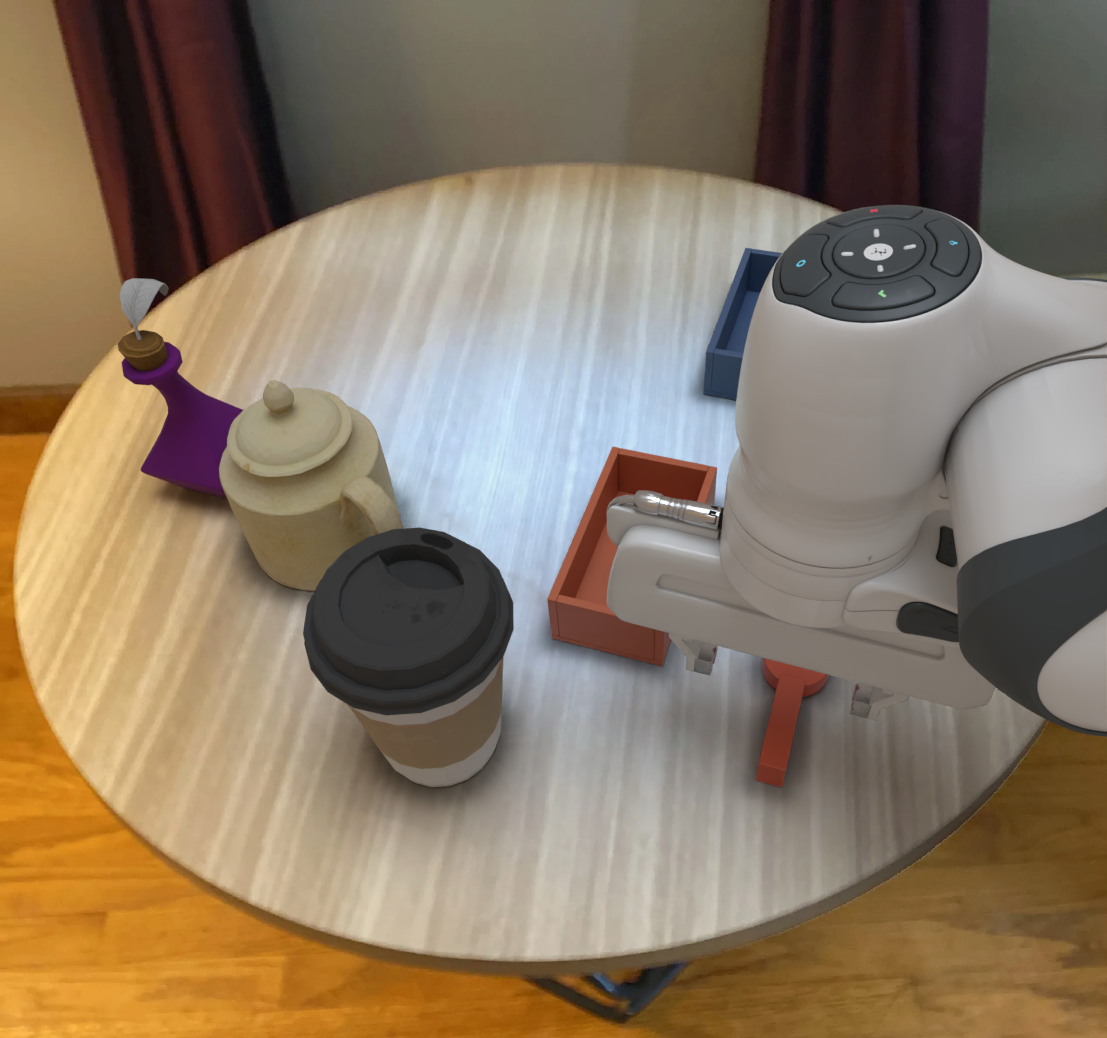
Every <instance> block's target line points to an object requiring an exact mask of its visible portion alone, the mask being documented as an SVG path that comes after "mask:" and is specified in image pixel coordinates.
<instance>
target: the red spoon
mask: <svg viewBox="0 0 1107 1038" xmlns="http://www.w3.org/2000/svg"><path fill="white" fill-rule="evenodd" d="M761 669H762V674H763V676H764V679H765V680H766V682H767V683H768V684H769V685H770V686H771V687H772V688H773V689H774V690H775V692H774V697H773V701H772V705H771V709H770V714H769V717H768V721H767V726H766V730H765V734H764V738H763V743H762V747H761V750H760V754H759V755H760V756H759V760H758V763H757V769H756V776H755V781H757V782H761V783H764V784H768V785H770V786H774V787H778V788H783V785H784V783H785V782H784V781H785V777H786V772H787V768H788V764H789V759H790V754H791V750H792V745H793V741H794V736H795V731H796V727H797V723H798V718H799V713H800V710H801V705H802V700H803V698H804V697H809V696H812V695H815V694H816V693H818V692H819V691H821V690H822V689H823V688H824V686H825V685H826V683H827V681H828V678H829V676H830V675H827V674H823V673H820V672H816V671H812V670H808V669H804V668H800V667H797V666H793V665H789V664H785V663H781V662H778V661H774V660H770V659H766V658H762V663H761Z"/></svg>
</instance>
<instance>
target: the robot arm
mask: <svg viewBox="0 0 1107 1038" xmlns="http://www.w3.org/2000/svg"><path fill="white" fill-rule="evenodd" d="M781 253H782V254H781V256H780V257H779V258H778V260H777V261H776V263H775V264H774V266H773V267H772V269H771V271H770V273H769V275H768V277H767V279H766V281H765V283H764V285H763V287H762V290H761V292H760V294H759V297H758V300H757V303H756V306H755V309H754V312H753V316H752V319H751V323H750V327H749V330H748V335H747V339H746V343H745V348H744V353H743V359H742V364H741V371H740V377H739V384H738V392H737V399H736V400H735V408H734V426H735V427H734V428H735V432H736V438H737V440H738V441H737V442H738V444H739V446H738V448H737V449H736V451H735V453H734V454H733V456H732V459H731V462H730V464H729V468H728V473H727V477H726V484H725V493H724V502H723V506H720V505H719V506H718V505H715V504H714V505H710V504H706V503H702V502H697V501H691V500H689V501H688V500H682V499H675V498H671V497H666V496H663V494H660V493H657V492H653V491H645V490H639V491H637V492H636V494H635V495H624V496H620V497H617V498H614V499H613V500H612V501H611V502H610V504H609V505H608V508H607V533H608V536H609V537H610V539H611V541H612V542H613V543H614V544H615V545H616V546H617V547H618V549H617V552H616V555H615V557H614V560H613V564H612V567H611V571H610V576H609V581H608V588H607V606H608V607H609V608H610V610H611V611H612V612H613V613H614V614H615V615H616V616H617V617H618V618H619V619H621V620H623V621H625V622H628V623H632V624H636V625H640V626H644V627H648V628H652V629H656V630H659V631H663V632H667V633H669V638H670V639H671V642H672V643H673V644H674V645H675V646H676V647H677V649H679V651H680V652H681V653H682V654H683V655H684V656H685V657H686V660H685V670H686V671H689V672H693V673H697V674H701V675H706V676H711V675H712V672H713V668H714V664H715V662H716V659H717V655H718V647H721V648H724V649H728V650H732V651H736V652H740V653H744V654H747V655H751V656H755V657H759V658H762V659H763V658H766V659H770V660H774V661H778V662H781V663H785V664H789V665H793V666H797V667H800V668H804V669H808V670H812V671H816V672H820V673H823V674H827V675H829V676H832V677H836V678H839V679H843V680H846V681H850V682H854V683H856V684H855V687H854V690H853V694H852V699H851V705H850V709H849V715H854V716H857V717H859V718H864V719H867V720H870V721H874V722H876V721H877V720H878V717H879V715H880V712H881V709H886V708H888V707H891V706H894V705H897V704H900V703H904V702H905V701H908V700H909V698H910V697H911V698H915V699H919V700H923V701H926V702H929V703H930V702H931V703H934V704H938V705H942V706H946V707H949V708H953V709H956V710H960V711H961V710H962V711H969V710H974V709H977V708H978V709H979V708H982V707H985V706H987V705H988V704H989V702H990V701H991V700H992V698H993V695H994V692H995V689H997V690H999V691H1000V692H1001V693H1002V694H1004V695H1005V696H1006V697H1008V698H1009V699H1011V700H1012V701H1013V702H1015V703H1017V704H1018V705H1020V706H1021V707H1023V708H1024V709H1026V710H1028V711H1029V712H1030V713H1032V714H1035V715H1037V716H1038V717H1040V718H1042V719H1044V720H1047V721H1048V722H1051V723H1053V724H1055V725H1057V726H1060V727H1061V728H1065V729H1066V730H1070V731H1073V732H1076V733H1080V734H1085V735H1088V736H1095V737H1105V738H1107V279H1103V278H1095V277H1075V276H1074V277H1058V276H1055V275H1052V274H1047V273H1045V272H1042V271H1038V270H1035V269H1033V268H1030V267H1027V266H1024V265H1022V264H1020V263H1018V262H1016V261H1013V260H1012V259H1009V258H1007V257H1006V256H1004V255H1003V254H1000V253H999V252H997V251H996V250H995V249H994V248H992V247H991V246H990V245H989V244H988V243H986V241H985V240H984V239H983V238H982V237H981V236H980V235H979V234H978V233H977V232H976V230H974V229H973V228H972V227H971V226H969V225H968V224H967V223H966V222H964V221H962V220H960V219H958V218H957V217H955V216H952V215H951V214H948V213H946V212H943V211H938V210H935V209H932V208H928V207H924V206H923V207H922V206H917V205H907V204H884V205H883V204H882V205H873V206H871V205H870V206H866V207H859V208H855V209H851V210H848V211H844V212H841V213H838V214H836V215H833V216H830V217H828V218H826V219H824V220H822V221H819V222H817V223H816V224H815V225H812V226H811V227H810V228H808V229H807V230H805V231H804V232H803V233H802V234H800V235H799V236H798V237H797V238H796V239H795V240H794V241H792V242H791V243H790V244H789V246H787V247H786V248H785V249H784V250H783V252H781Z"/></svg>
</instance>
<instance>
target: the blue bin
mask: <svg viewBox="0 0 1107 1038" xmlns="http://www.w3.org/2000/svg"><path fill="white" fill-rule="evenodd" d="M782 253H783V252H778V251H773V250H772V251H771V250H765V249H756V248H751V247H745V248H744V251H743V253H742V256H741V259H740V261H739V264H738V267H737V268H736V271H735V275H734V277H733V280H732V282H731V285H730V288H729V290H728V293H727V296H726V298H725V301H724V303H723V305H722V309H721V311H720V314H719V317H718V319H717V322H716V324H715V327H714V330H713V332H712V335H711V338H710V340H709V343H708V347H707V348H706V351H705V363H704V365H705V366H704V379H703V381H704V382H703V395H706V396H712V397H717V398H722V399H726V400H727V399H728V400H733V401H736V399H737V392H738V384H739V377H740V371H741V364H742V359H743V353H744V348H745V343H746V339H747V335H748V330H749V327H750V323H751V319H752V316H753V312H754V309H755V306H756V303H757V300H758V297H759V294H760V292H761V290H762V287H763V285H764V283H765V281H766V279H767V277H768V275H769V273H770V271H771V269H772V267H773V266H774V264H775V263H776V261H777V260H778V258H779V257H780V256H781V254H782Z"/></svg>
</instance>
